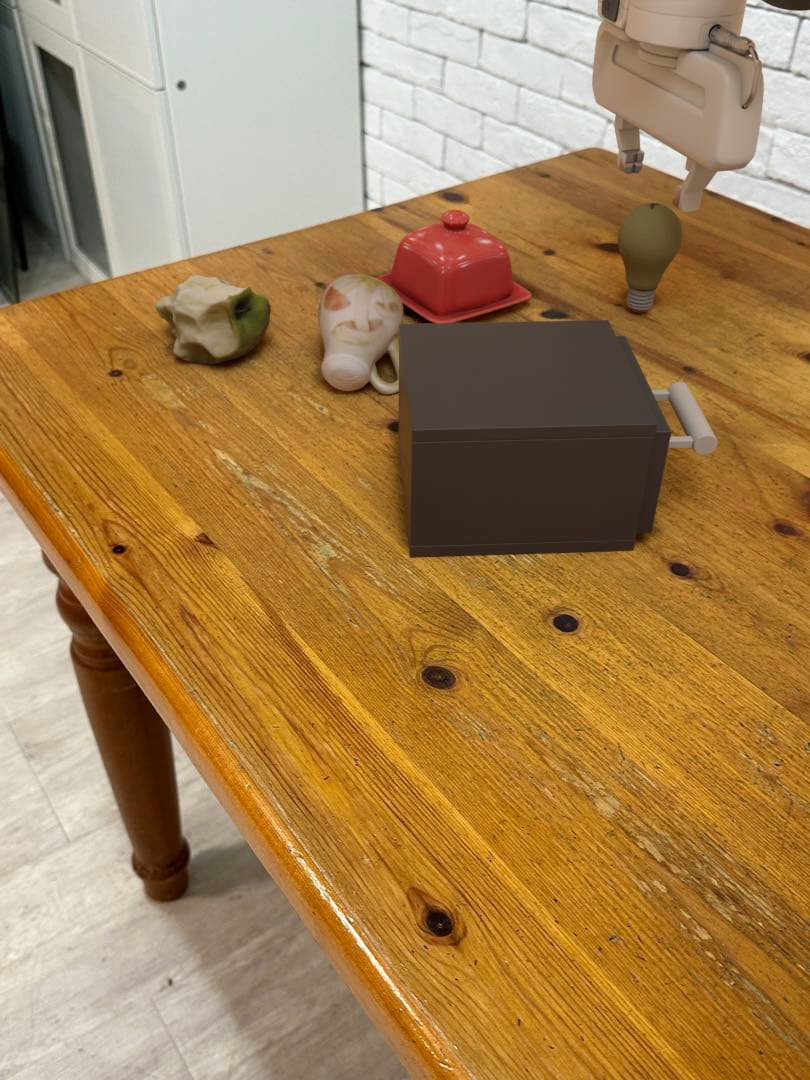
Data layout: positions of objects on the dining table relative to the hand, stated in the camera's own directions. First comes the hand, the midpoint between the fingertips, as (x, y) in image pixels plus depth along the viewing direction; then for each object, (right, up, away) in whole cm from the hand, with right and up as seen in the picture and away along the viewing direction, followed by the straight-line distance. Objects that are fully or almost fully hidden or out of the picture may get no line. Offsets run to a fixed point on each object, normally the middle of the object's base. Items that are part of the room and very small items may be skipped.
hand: (655, 189), depth 90 cm
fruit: (-38, -14, 0) cm, 40 cm away
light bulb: (0, -9, +7) cm, 12 cm away
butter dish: (-17, -8, +8) cm, 21 cm away
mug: (-25, -16, -2) cm, 30 cm away
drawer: (-10, -26, -16) cm, 32 cm away
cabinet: (-14, -27, -16) cm, 34 cm away
